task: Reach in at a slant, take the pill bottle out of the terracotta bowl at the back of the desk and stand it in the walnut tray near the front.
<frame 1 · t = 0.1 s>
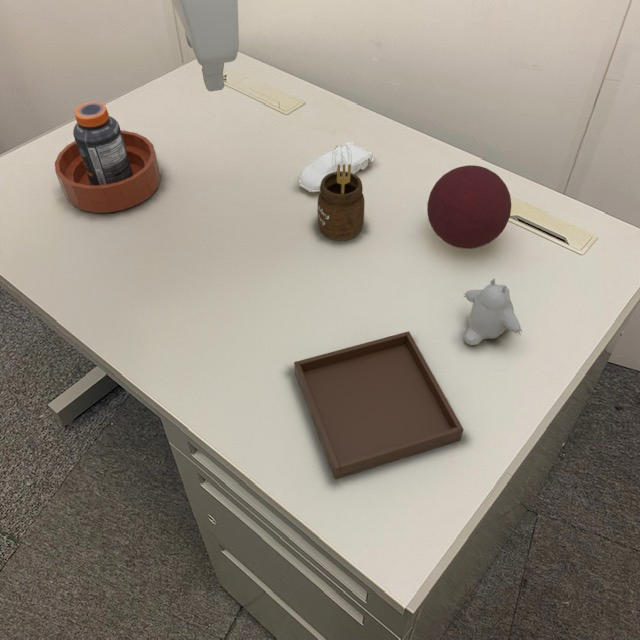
hand: (204, 65, 67), 22 cm above the table, tool pointing down, fingers open, 8 cm apart
pill bottle: (113, 183, 90), resting on bowl
toy car: (334, 176, 91), on the table
bowl: (113, 184, 90), on the table
tray: (374, 405, 66), on the table
decorative ball: (462, 239, 82), on the table
utensil holder: (340, 228, 84), on the table
figurine: (482, 334, 72), on the table
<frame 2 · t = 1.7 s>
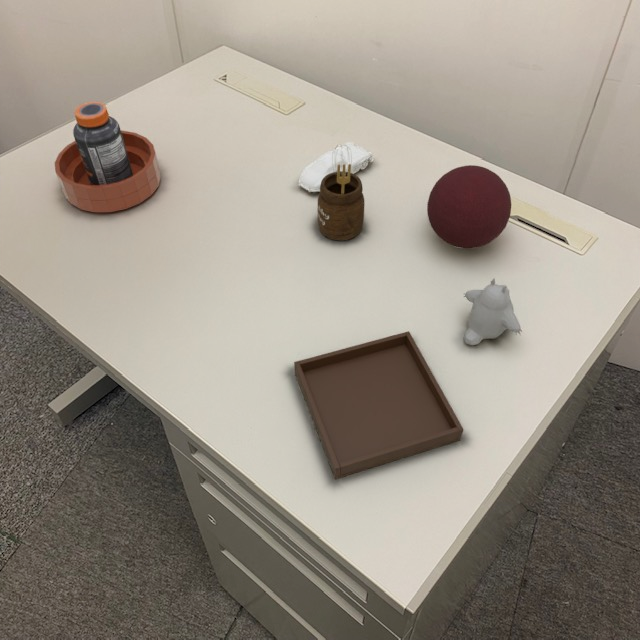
nothing on the table moved.
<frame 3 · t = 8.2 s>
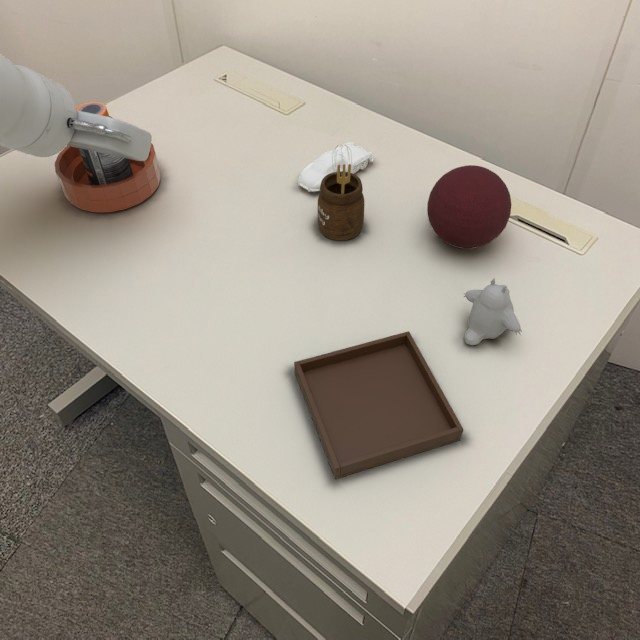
hand: (104, 142, 86), 6 cm above the table, tool tilted 45°, fingers closed on pill bottle, 6 cm apart
pill bottle: (113, 183, 90), resting on bowl, touching gripper
everything else where it was.
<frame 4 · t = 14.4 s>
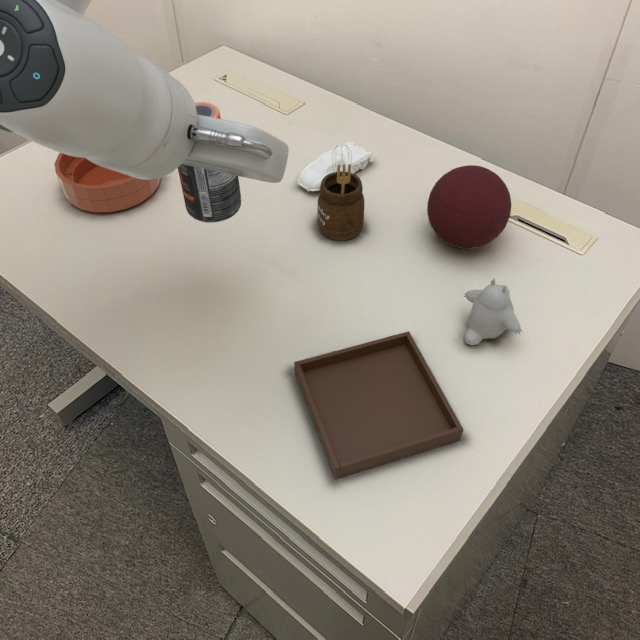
hand: (208, 156, 65), 17 cm above the table, tool tilted 45°, fingers closed on pill bottle, 6 cm apart
pill bottle: (214, 208, 69), point 11 cm above the table, touching gripper
everything else where it was.
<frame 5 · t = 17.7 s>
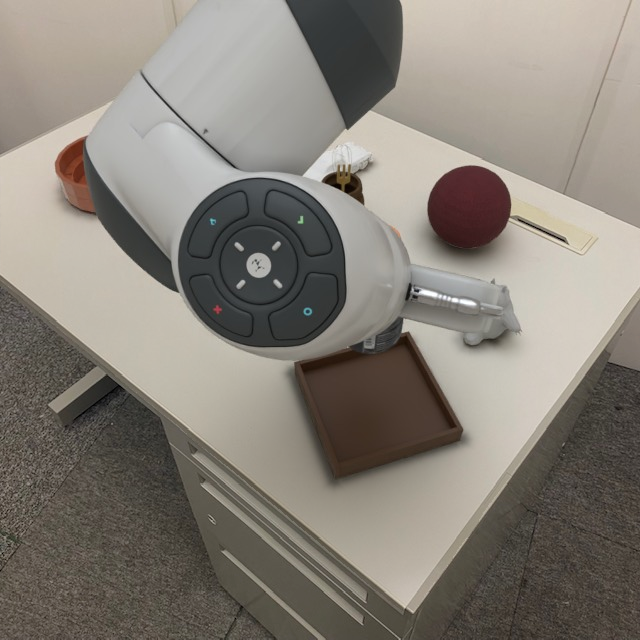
hand: (374, 280, 55), 16 cm above the table, tool tilted 45°, fingers closed on pill bottle, 6 cm apart
pill bottle: (368, 331, 59), point 10 cm above the table, touching gripper
everything else where it was.
when the fingers open (6 cm above the table, at t = 21.0 s): pill bottle stays where it is, resting on tray.
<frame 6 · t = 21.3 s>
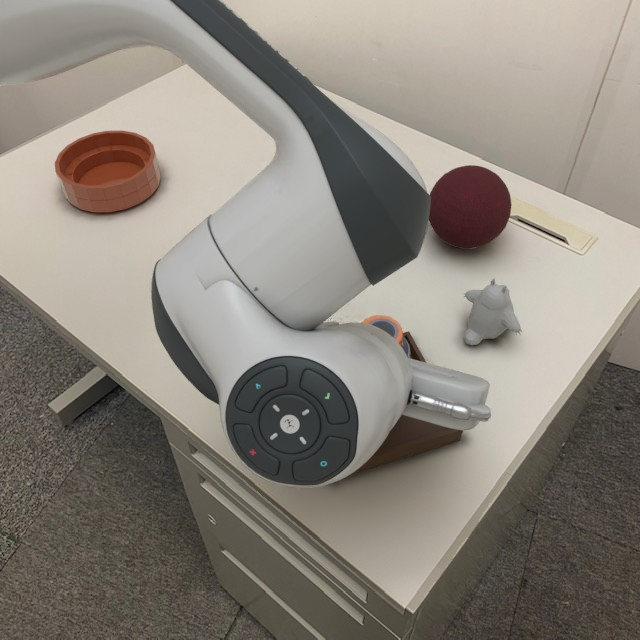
hand: (379, 362, 61), 6 cm above the table, tool tilted 45°, fingers open, 8 cm apart
pill bottle: (373, 402, 66), resting on tray
everything else where it was.
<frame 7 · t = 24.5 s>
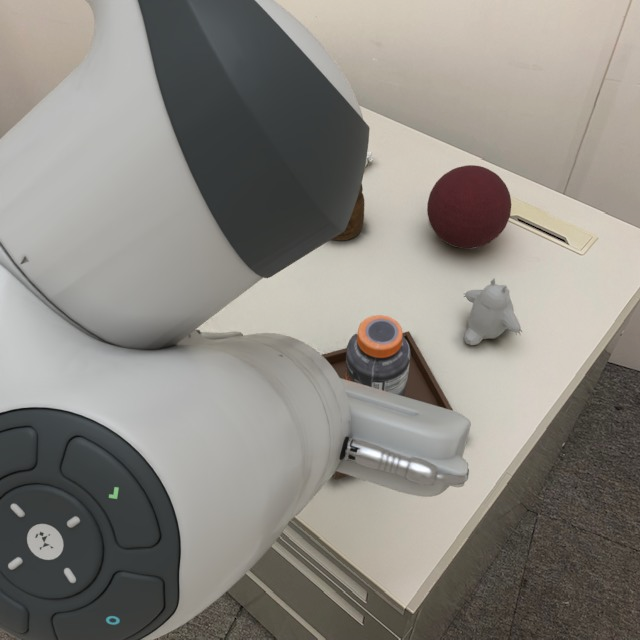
hand: (325, 386, 45), 18 cm above the table, tool tilted 45°, fingers open, 8 cm apart
nothing on the table moved.
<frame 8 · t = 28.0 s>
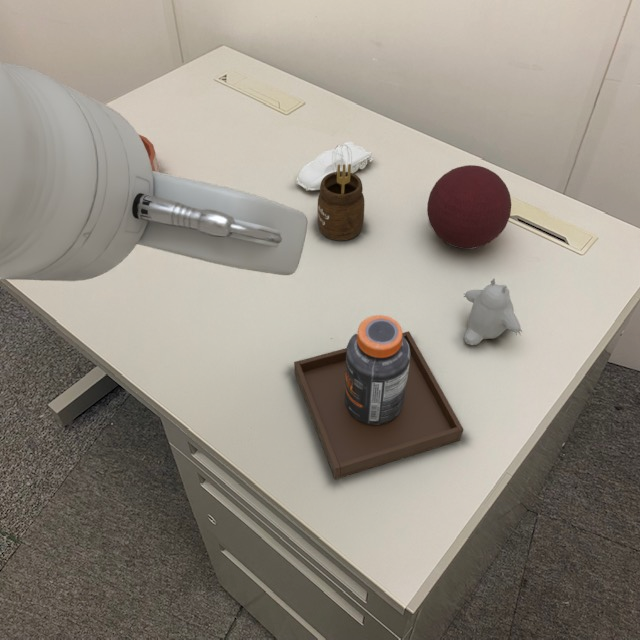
hand: (185, 218, 43), 27 cm above the table, tool tilted 45°, fingers open, 8 cm apart
nothing on the table moved.
at the end: pill bottle inside the target area in the tray (0.1 cm from its centre), point 0.3 cm above the tray's base; pill bottle tilted 0°; the gripper is holding nothing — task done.
